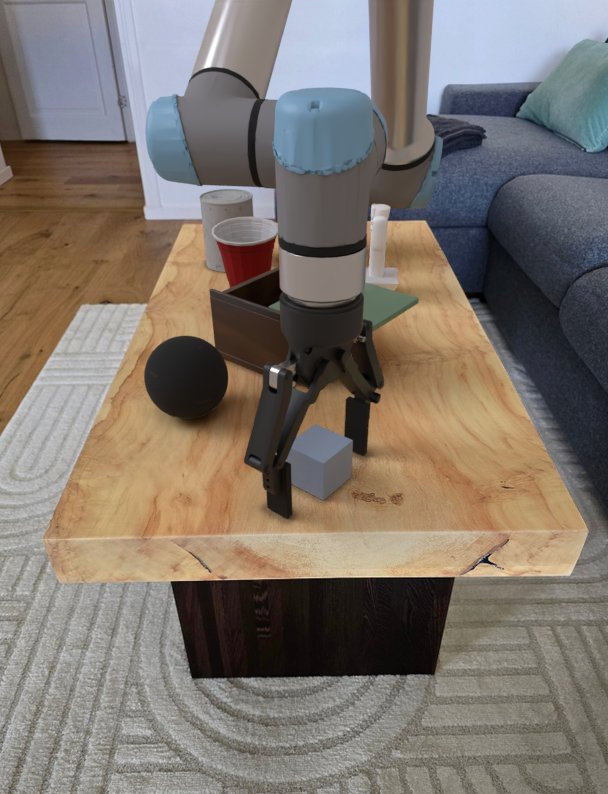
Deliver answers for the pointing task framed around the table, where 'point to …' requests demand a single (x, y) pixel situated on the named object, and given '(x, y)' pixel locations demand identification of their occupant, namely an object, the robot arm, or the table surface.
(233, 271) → the plastic cup
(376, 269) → the figurine
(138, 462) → the table surface
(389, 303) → the slide door
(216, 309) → the walnut box
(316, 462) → the block
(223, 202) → the grey tin can
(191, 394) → the speaker
